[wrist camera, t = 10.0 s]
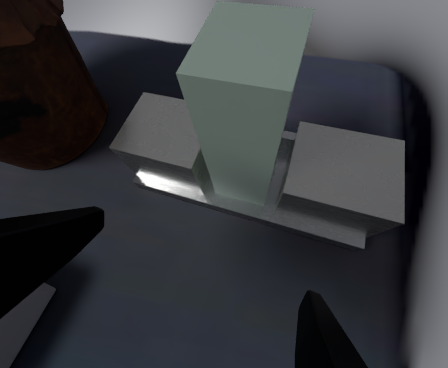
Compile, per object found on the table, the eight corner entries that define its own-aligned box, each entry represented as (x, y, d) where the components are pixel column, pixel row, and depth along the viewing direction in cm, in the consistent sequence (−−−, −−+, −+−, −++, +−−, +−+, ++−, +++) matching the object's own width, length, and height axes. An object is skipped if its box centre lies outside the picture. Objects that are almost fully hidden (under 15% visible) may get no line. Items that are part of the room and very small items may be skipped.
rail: (355, 251, 18) (409, 236, 12) (139, 187, 22) (101, 154, 16) (362, 170, 21) (408, 126, 15) (170, 128, 25) (147, 81, 19)
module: (263, 206, 19) (292, 91, 7) (215, 193, 20) (175, 73, 8) (276, 158, 21) (314, 8, 9) (231, 148, 22) (217, 1, 10)
